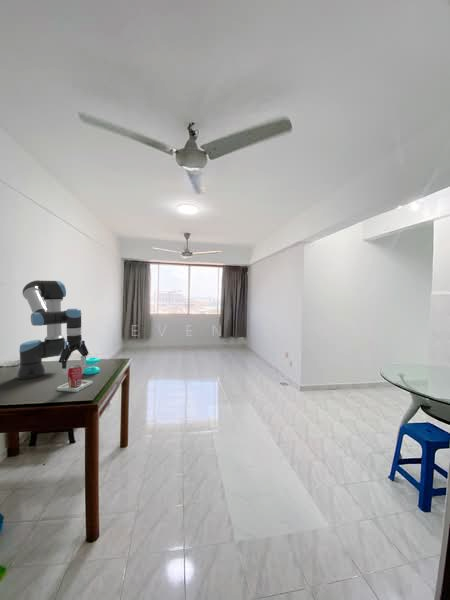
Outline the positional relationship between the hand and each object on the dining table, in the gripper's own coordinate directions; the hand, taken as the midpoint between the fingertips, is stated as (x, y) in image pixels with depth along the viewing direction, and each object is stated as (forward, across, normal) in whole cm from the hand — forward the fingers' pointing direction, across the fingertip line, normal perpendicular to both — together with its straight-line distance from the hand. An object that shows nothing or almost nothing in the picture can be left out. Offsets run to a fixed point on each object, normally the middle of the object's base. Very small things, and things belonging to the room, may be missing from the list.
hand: (74, 369), depth 150 cm
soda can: (+10, 0, 0) cm, 10 cm away
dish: (+10, 0, 0) cm, 10 cm away
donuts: (+11, +25, +8) cm, 28 cm away
